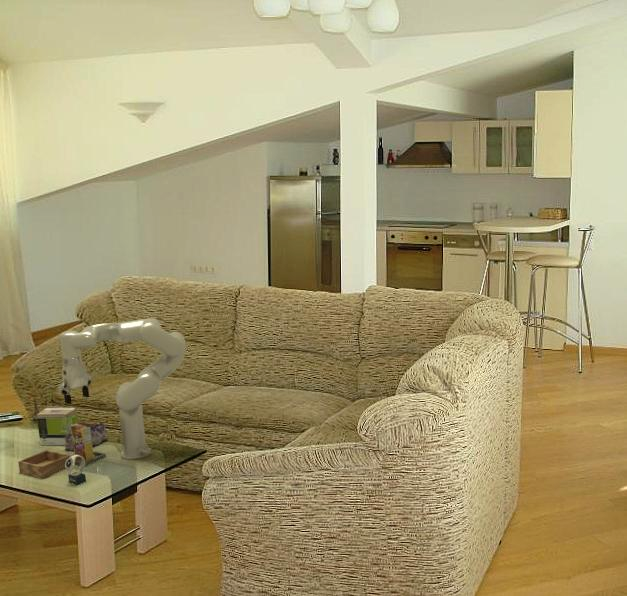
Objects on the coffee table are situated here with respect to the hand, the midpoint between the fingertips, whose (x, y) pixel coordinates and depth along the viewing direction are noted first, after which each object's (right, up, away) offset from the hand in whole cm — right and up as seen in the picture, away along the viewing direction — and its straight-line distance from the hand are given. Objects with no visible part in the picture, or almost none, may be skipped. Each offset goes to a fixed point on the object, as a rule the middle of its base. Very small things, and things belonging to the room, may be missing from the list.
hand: (77, 400), depth 393 cm
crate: (-12, -28, -4) cm, 31 cm away
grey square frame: (+2, -26, +5) cm, 26 cm away
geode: (-1, -23, +23) cm, 32 cm away
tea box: (-15, -22, +30) cm, 40 cm away
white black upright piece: (+5, -31, -20) cm, 37 cm away
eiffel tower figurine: (-35, -17, +64) cm, 75 cm away
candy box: (+2, -26, +5) cm, 26 cm away
